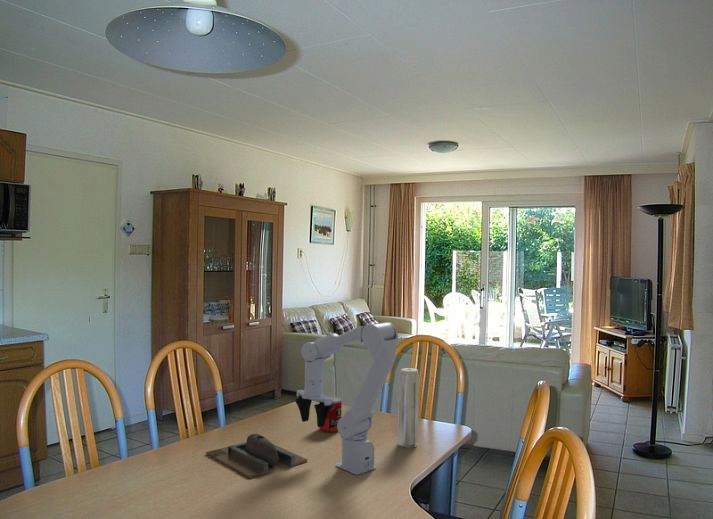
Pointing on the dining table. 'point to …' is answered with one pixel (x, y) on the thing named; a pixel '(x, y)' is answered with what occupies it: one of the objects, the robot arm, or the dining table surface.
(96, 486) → the dining table surface
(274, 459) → the perforated stone tool
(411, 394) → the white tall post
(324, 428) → the canned food
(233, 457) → the brown tray
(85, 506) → the dining table surface
